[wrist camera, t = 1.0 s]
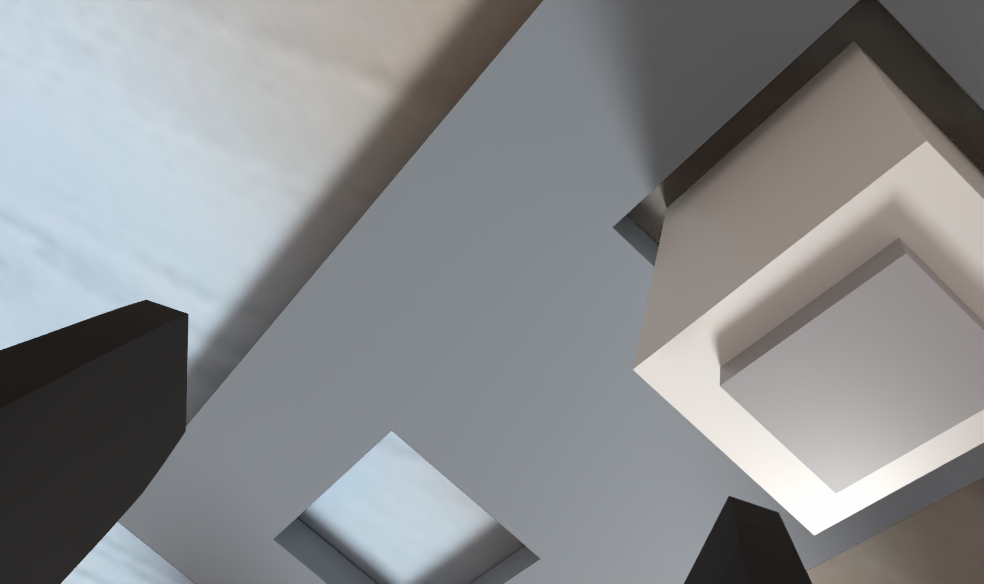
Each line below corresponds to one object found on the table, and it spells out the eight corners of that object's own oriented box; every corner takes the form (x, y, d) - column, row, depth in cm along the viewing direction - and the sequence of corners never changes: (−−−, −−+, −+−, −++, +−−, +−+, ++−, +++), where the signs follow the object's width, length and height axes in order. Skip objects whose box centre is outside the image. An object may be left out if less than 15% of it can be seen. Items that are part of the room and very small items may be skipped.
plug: (989, 180, 16) (1156, 378, 10) (788, 324, 19) (816, 558, 12) (853, 40, 16) (935, 152, 9) (666, 208, 18) (629, 387, 12)
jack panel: (1440, 184, 14) (1514, 217, 13) (438, 738, 29) (424, 781, 28) (905, -424, 13) (926, -461, 11) (134, 492, 28) (102, 524, 26)
